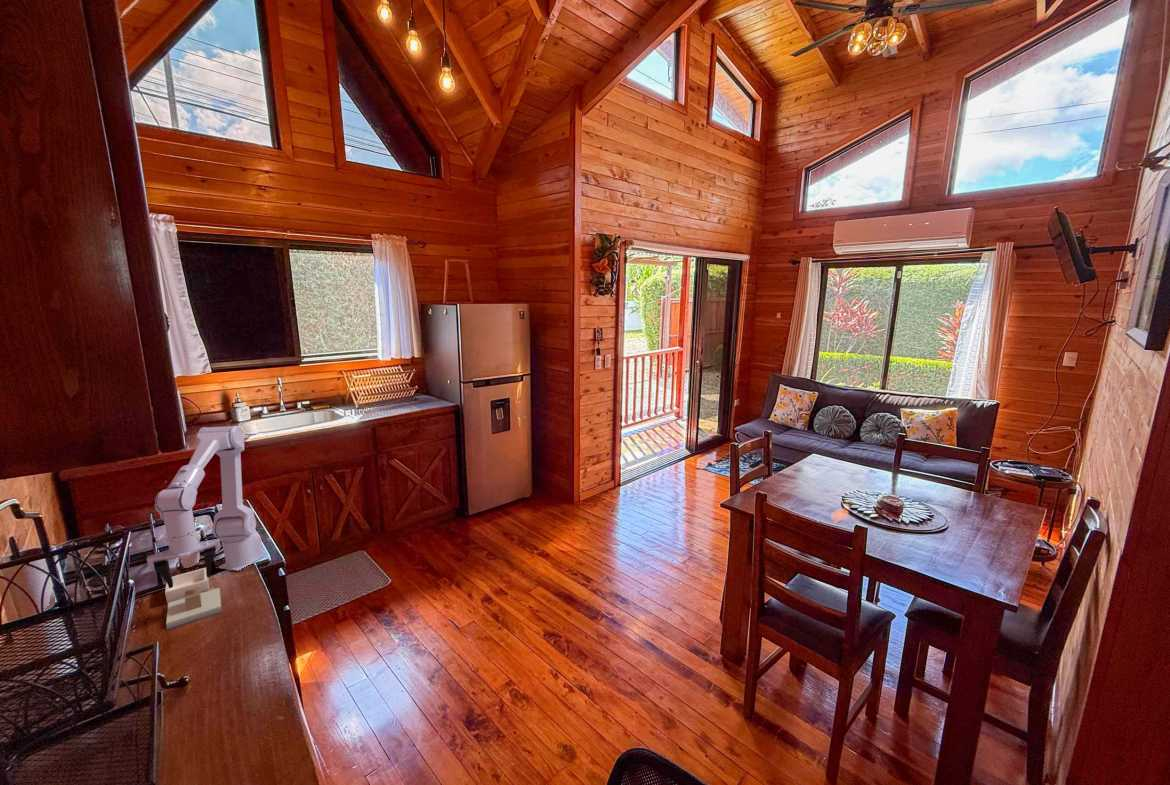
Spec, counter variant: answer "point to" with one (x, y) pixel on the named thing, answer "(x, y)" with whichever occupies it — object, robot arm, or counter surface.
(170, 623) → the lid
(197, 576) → the dish
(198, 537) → the smoothie
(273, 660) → the counter surface
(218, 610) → the mat
